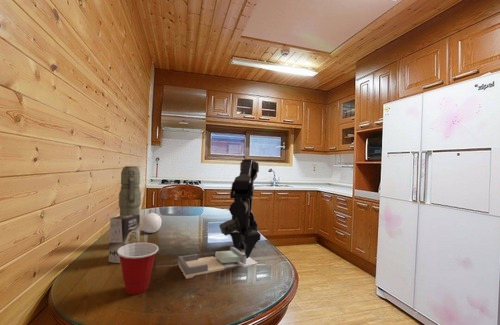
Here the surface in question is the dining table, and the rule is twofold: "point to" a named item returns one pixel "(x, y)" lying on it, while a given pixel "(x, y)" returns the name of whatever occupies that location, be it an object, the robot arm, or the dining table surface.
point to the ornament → (151, 222)
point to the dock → (205, 265)
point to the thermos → (130, 191)
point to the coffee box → (122, 234)
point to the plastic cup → (137, 266)
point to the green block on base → (231, 256)
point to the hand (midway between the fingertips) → (241, 254)
